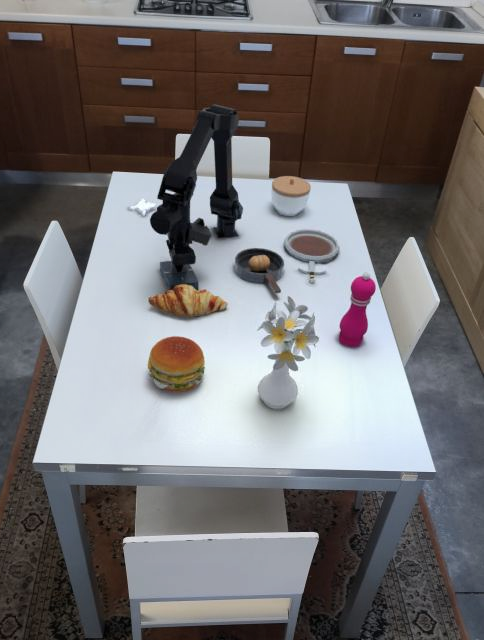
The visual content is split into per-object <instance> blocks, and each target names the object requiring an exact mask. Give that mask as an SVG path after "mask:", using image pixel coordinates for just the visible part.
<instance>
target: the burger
mask: <svg viewBox="0 0 484 640" xmlns="http://www.w3.org/2000/svg"><path fill="white" fill-rule="evenodd" d="M205 363H206V361H205V356H204V352H203V349H202V348H201V347H200V345H199V344H198V343H197V342H195V341H194V340H192V339H191V338H188V337H185V336H176V335H173V336H168V337H165V338H162V339H160V340H159V341H157V342H155V344H154V345H153V346H152V347H151V349H150V352H149V356H148V361H147V369H148V372H149V373H150V377H151V378H152V380H153V382H154V384H155V385H156V387H157V388H158V389H163V390H165V391H169V392H175V393H177V392H178V393H179V392H185V391H189V390H191V389H193V388H194V387H196V386H197V385H199V384H200V382H202V380H203V376H204V375H205V369H206V367H205Z"/></svg>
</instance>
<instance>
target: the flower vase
mask: <svg viewBox="0 0 484 640" xmlns="http://www.w3.org/2000/svg"><path fill="white" fill-rule="evenodd" d="M283 305H284V306H285V308H286V310H287V311H288V313H289V314H288V316H287V314H286V313H285V312H284V311H283V310H281V309H277V301H275V302H274V304H273V306H272V309H271V310H269V311H268V312H267V313H266V314H265V318H264V319H265V321H262V323H261V325H260V326H258V328H257V329H256V332H257V331H260V330H261V329H263V330H264V332H266V333H267V334H268V335H266V336H264V337H263V338H262V340H261V341H260V345H261V347H264V348H266V347H269V346H271V345H272V344H274V345H273V346H274V350H275V352H276V353H272V354H268V355H267V358H268V359H269V360H273V361H274V363H273V365H272V371H271V372H270V373H268V374H266V375H264V376H263V377H262V378H261V379H260V380H259V383H258V385H257V393H258V397H260V399H261V400H262V401H263V403H264V404H265V405H266V406H267V407H268V408H271V409H274V410H281V409H284V408H287V406H289V405H290V404H292V403H293V402H295V400H296V399H297V397H298V394H299V387H298V384H297V382H296V380H295V379H294V378H293V377H292V376H291V375H290V370H291V371H292V372H298V371H299V366H298V364H297V362H303V361H305V360H306V359H307V360H310V359H311V356H312V351H311V348H310V347H309V346H314V348H316V344H317V343H319V342H320V337H319V336H318V335H316V330H315V323H316V315H315V312H313V313H312V315H311V316H310V315H308V314H306V312H307V311H308V310H309V307H308V306H307V305H305V304H299V305H297V306H296V302H295V301H294V299H293V298H292V296H289V295H288V296H287V302H286V301H283ZM277 318H278V319H277ZM302 319H303V320H302ZM305 320H308V322H307V321H305ZM302 326H304V327H303V328H297V327H302ZM295 328H296V329H295ZM292 348H293V349H292ZM300 352H301V353H302V355H299V354H300Z"/></svg>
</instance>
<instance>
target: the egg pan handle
mask: <svg viewBox="0 0 484 640" xmlns="http://www.w3.org/2000/svg"><path fill="white" fill-rule="evenodd" d="M265 279H266V280H267V282H268V283H267V284H268V286H269V287H270V288H271V290H272V291H273V293H274V294H281V293H282V289H281V287H280V286H279V284H278V283H277V282H276V281H275V280H274V278H273V277H272V275H271V274H266V275H265Z"/></svg>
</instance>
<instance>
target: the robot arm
mask: <svg viewBox="0 0 484 640" xmlns="http://www.w3.org/2000/svg"><path fill="white" fill-rule="evenodd" d="M239 120H240V116H239V114H238V111H237V110H236V109H235V108H232V107H231V108H230V107H226V106H224V105H223V106H222V105H219V104H211V106H210V107H205V108H202V110H200V111H199V112H198V114H197V118H196V123H195V125H194V127H193V129H192V131H191V133H190V134H189V135H190V136H189V137H188V139H187V141H186V143H185V146H184V147H183V150H182V152H181V153H180V156H179V157H177V158H175V159H174V160H172V161H171V162H170V164H169V165H168V167H167V168H166V170H165V171H164V173H163V175H162V178H161V183H160V186H159V190H158V194H157V197H156V199H157V200H160V201H162V203H161V204H159V205H158V206H156V210H155V211H154V212H153V213H152V214H151V215H150V218H149V223H150V226H151V228H152V230H154V232H155V233H157V234H159V235H161V236H163V235H164V236H167V239H166V240H165V243H166V246H167V249H168V255H169V256H170V257H169V258H170V261H172V264H173V265H175V268H176V270H177V272H181V271H182V268H183V265H188V264H190V265H195V264H196V263H197V260H196V259H197V256H196V253H195V250H194V249H193V248H192V247H191V245H192V244H193V242H195V243H197V244H198V243H199V244H201V245H203V246H208V244H209V241H210V240H211V238H212V233H211V232H212V231H211V229H210V228H209V227H208V225H206V224H205V223H206V222H205V220H204V218H201V217H197V218H196V219H195V220H194V221H192V222H191V201H192V197H193V196H194V192H195V190H196V187H197V181H198V174H197V169H198V167H199V164H200V162H201V160H202V159H203V156H204V154H205V151H206V150H207V148H208V145H209V144H210V141H211V140H212V141H213V153H214V175H215V189H214V190H213V191H212V193H211V195H210V196H209V209H210V214H211V215H214V216H217V217H216V226H214V227H212V230H213V233H214V234H215V236H216V237H217V238H218V239H224V238H225V239H226V238H233V237H239V234H238V232H237V231H236V222H237V221H238V220H241V219H242V216H243V214H244V213H243V212H244V207H243V205H242V203H241V202H240V201H239V200H240V199H239V192H238V191H237V188H235V187H234V185H233V153H232V152H233V150H232V148H233V146H232V139H233V136H234V135H235V133H236V132H237V130H238V126H239V122H240V121H239ZM166 191H168V192H166ZM169 192H172V193H169Z"/></svg>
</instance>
